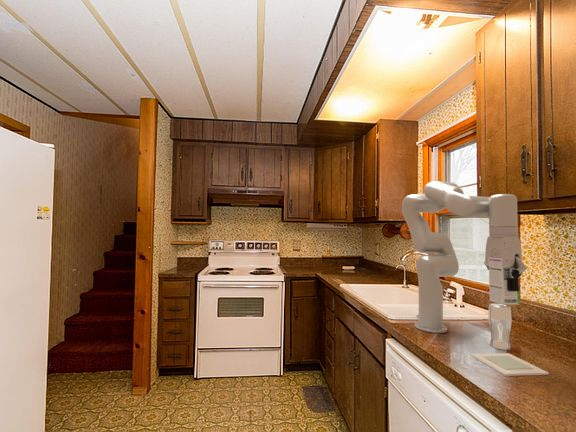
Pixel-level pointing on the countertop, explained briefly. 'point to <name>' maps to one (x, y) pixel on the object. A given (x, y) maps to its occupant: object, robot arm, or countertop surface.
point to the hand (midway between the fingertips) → (504, 288)
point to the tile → (509, 364)
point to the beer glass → (500, 325)
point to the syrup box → (501, 284)
